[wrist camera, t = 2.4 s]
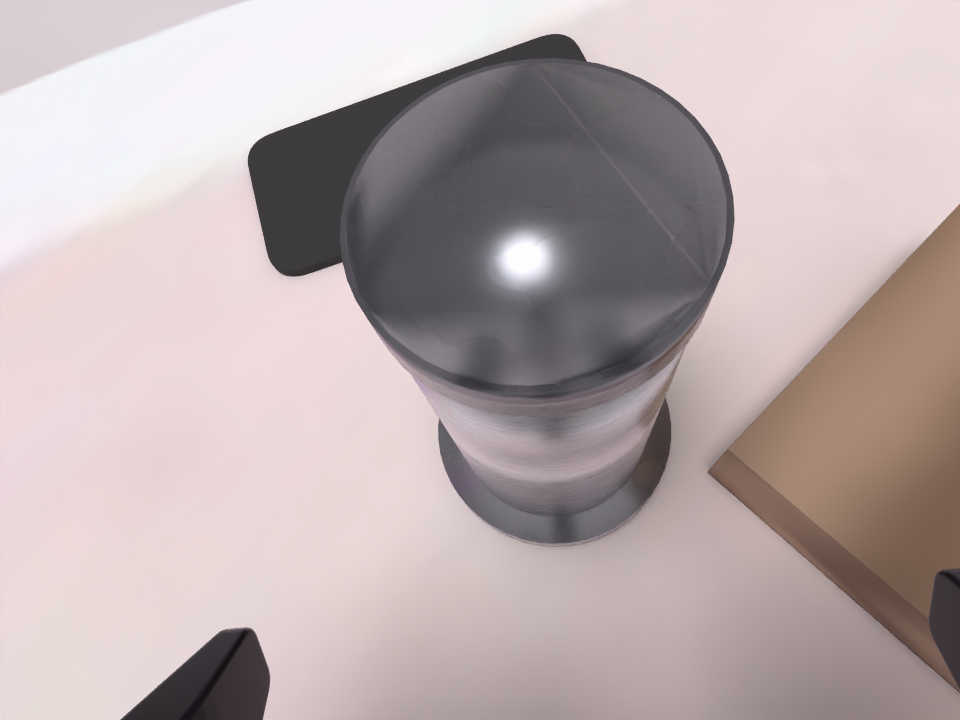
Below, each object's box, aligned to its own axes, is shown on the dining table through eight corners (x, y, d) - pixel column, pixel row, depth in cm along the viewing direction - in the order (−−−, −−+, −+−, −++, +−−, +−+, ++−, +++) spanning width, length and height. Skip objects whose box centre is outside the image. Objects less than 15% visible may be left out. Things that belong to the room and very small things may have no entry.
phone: (242, 141, 29) (567, 24, 28) (251, 154, 29) (568, 40, 29) (273, 281, 26) (635, 152, 26) (281, 291, 26) (634, 166, 26)
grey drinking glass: (716, 429, 22) (893, 188, 10) (554, 598, 20) (529, 559, 8) (550, 290, 24) (529, -33, 12) (398, 432, 23) (211, 224, 11)
